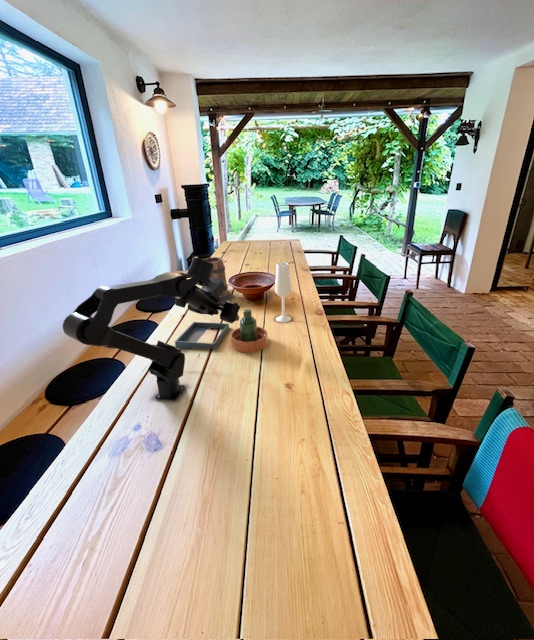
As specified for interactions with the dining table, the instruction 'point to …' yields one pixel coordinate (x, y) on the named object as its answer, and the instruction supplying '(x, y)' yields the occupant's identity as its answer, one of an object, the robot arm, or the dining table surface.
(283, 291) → the champagne flute
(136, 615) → the dining table surface
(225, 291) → the tankard
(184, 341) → the tray
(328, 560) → the dining table surface
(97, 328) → the robot arm
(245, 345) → the bowl
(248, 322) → the bottle
